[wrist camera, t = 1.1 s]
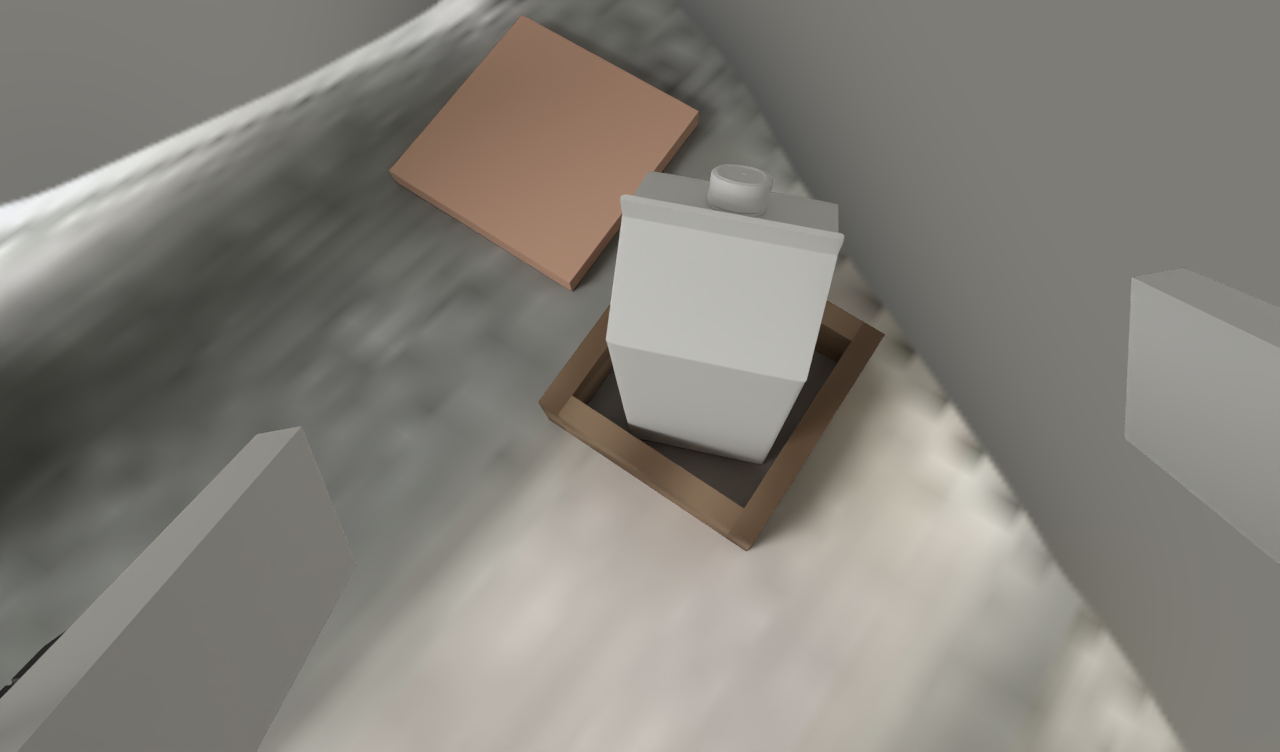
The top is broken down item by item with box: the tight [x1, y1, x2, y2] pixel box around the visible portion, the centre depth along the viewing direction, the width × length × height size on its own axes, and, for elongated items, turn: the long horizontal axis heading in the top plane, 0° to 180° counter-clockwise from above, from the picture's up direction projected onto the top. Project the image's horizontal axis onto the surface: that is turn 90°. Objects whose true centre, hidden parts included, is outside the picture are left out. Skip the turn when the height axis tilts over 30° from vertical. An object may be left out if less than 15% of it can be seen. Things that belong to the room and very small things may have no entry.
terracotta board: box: [389, 15, 699, 291], centre depth 47 cm, size 13×13×1 cm
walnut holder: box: [539, 301, 885, 551], centre depth 42 cm, size 12×12×4 cm
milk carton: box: [606, 164, 845, 464], centre depth 34 cm, size 7×7×19 cm
